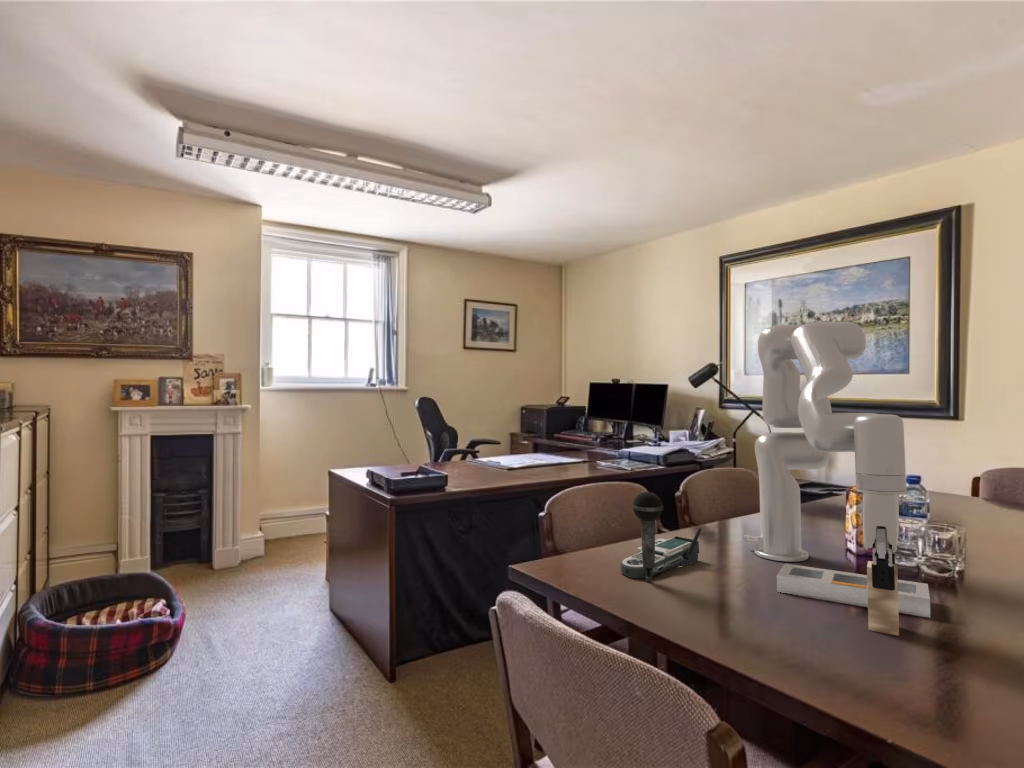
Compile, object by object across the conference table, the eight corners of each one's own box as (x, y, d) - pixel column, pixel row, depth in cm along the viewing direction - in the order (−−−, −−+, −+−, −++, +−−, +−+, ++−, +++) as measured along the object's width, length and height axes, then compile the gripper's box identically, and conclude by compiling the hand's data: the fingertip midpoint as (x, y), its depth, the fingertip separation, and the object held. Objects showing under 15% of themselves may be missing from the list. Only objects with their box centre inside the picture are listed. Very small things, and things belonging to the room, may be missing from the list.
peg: (868, 629, 100) (866, 567, 100) (869, 621, 103) (868, 560, 104) (898, 635, 97) (897, 571, 98) (898, 626, 101) (897, 564, 101)
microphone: (667, 579, 129) (665, 490, 129) (661, 588, 122) (660, 495, 123) (636, 575, 131) (635, 488, 132) (630, 584, 125) (628, 493, 126)
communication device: (605, 573, 135) (603, 536, 136) (664, 553, 151) (663, 520, 151) (646, 585, 126) (645, 545, 126) (705, 563, 141) (704, 527, 142)
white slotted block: (777, 592, 119) (776, 574, 119) (785, 579, 128) (784, 562, 128) (930, 618, 105) (929, 597, 105) (928, 601, 113) (927, 582, 113)
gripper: (858, 477, 110) (862, 566, 109) (852, 488, 96) (856, 591, 95) (905, 479, 106) (909, 572, 105) (906, 491, 92) (911, 599, 91)
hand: (884, 581), depth 100 cm, fingers open, 9 cm apart
